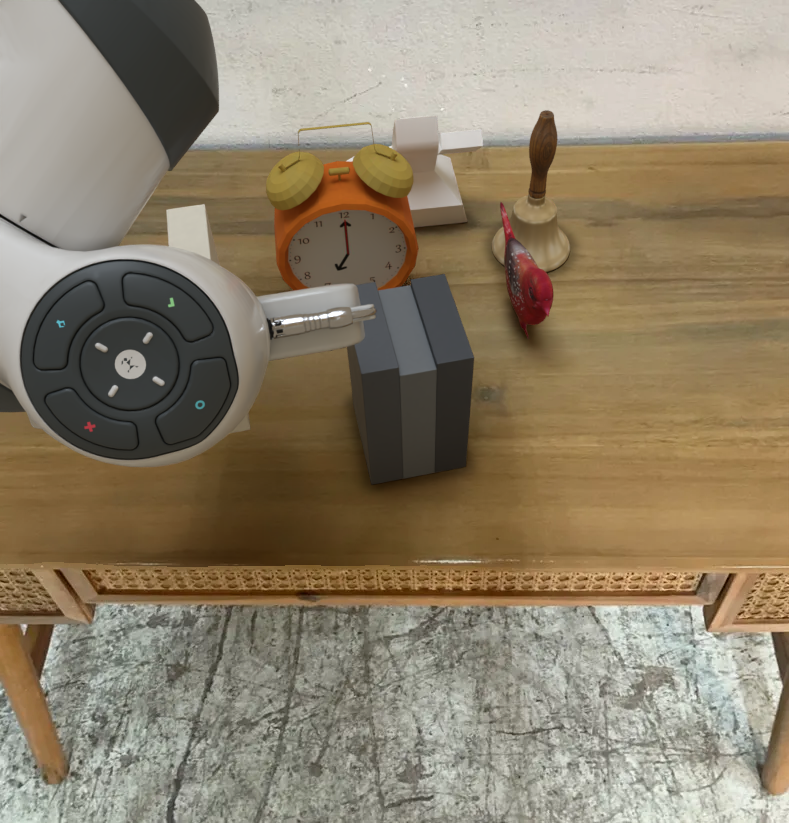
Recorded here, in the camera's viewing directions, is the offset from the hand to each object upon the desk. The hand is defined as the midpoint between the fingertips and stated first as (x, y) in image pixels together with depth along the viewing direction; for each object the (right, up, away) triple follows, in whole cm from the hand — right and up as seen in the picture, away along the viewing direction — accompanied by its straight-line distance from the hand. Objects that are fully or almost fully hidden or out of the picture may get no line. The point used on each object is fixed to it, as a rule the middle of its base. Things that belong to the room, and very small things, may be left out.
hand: (209, 334), depth 57 cm
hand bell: (+27, +12, +32) cm, 44 cm away
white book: (0, -3, +8) cm, 8 cm away
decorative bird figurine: (+25, +5, +27) cm, 37 cm away
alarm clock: (+8, +6, +28) cm, 30 cm away
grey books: (+14, -7, +18) cm, 24 cm away
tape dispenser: (+15, +17, +36) cm, 43 cm away
